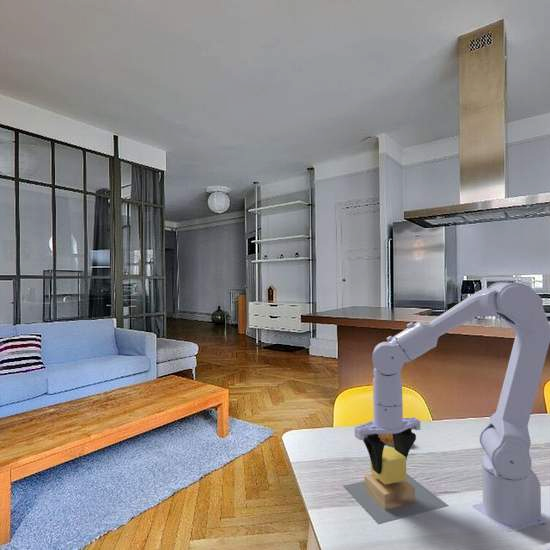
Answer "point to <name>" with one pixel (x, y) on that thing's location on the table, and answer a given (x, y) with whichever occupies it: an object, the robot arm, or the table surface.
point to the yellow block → (391, 467)
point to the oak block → (389, 492)
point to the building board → (422, 504)
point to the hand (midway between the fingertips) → (388, 468)
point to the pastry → (387, 439)
